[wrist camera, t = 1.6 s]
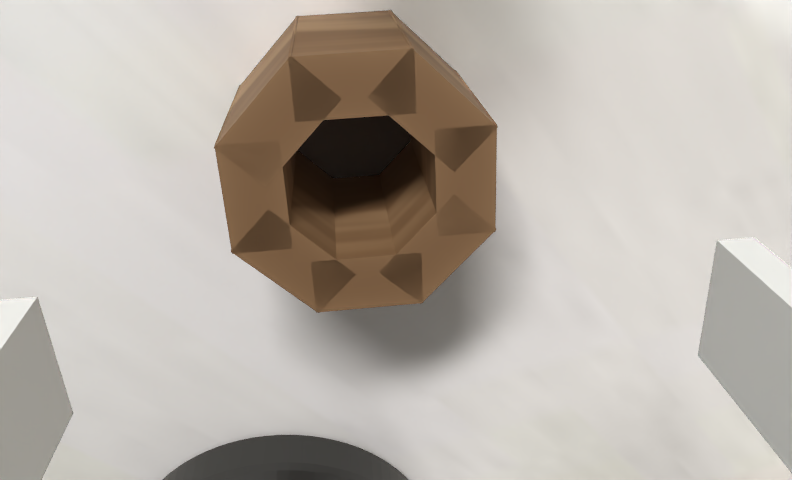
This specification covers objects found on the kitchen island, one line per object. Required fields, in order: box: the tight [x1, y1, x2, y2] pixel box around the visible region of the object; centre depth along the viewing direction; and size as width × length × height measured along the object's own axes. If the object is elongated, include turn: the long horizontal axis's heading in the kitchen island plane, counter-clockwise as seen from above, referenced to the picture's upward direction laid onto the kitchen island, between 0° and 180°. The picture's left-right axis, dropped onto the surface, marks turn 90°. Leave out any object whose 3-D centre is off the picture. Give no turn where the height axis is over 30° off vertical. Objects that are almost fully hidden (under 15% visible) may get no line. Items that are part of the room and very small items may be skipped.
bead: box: [214, 10, 497, 313], centre depth 24 cm, size 8×8×7 cm
